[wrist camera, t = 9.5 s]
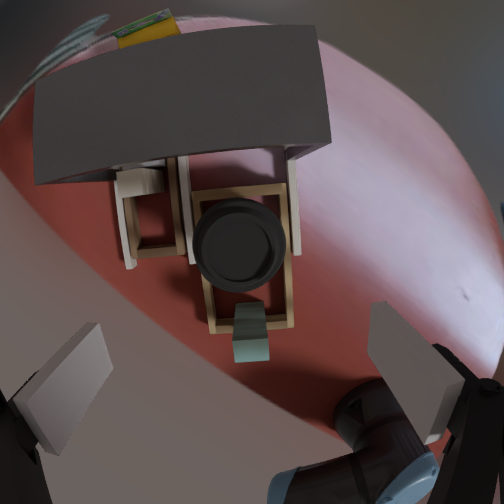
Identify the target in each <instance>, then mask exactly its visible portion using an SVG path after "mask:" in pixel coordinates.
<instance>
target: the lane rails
mask: <svg viewBox="0 0 504 504" xmlns="http://www.w3.org/2000/svg"><path fill="white" fill-rule="evenodd" d="M288 147H289V146H287V147H284V149H285V150H286V149H287V148H288ZM286 151H287V150H286ZM178 165H179V176H180V187H181V197H182V206H183V215H184V224H185V232H186V240H187V248H188V256H189V263H190V264H196V262H195V258H194V255H193V249H192V239H193V233H194V230H195V221H194V212H193V202H192V192H191V182H190V171H189V159H188V156H182V157H178ZM113 169H119V171H121V167H117V168H113ZM286 173H287V185H288V198H289V212H290V228H291V244H292V253H293V255H301V237H300V219H299V204H298V190H297V176H296V164H295V160H288V161H287V152H286ZM114 186H115V196H116V205H117V213H118V220H119V228H120V235H121V241H122V247H123V253H124V259H125V265H126V269H133V268H134V267H135V266H137V261H136V259H132V255H131V249H130V242H129V236H128V229H127V222H126V214H125V206H124V198H119V196H118V186H117V181H114Z"/></svg>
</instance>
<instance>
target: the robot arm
mask: <svg viewBox="0 0 504 504" xmlns="http://www.w3.org/2000/svg"><path fill="white" fill-rule="evenodd" d="M367 353H368V355H369V357H370V358H371V360H372V361H373V363H374V364H375V366H376V367H377V369H378V371H379V372H380V374H381V375H382V377H383V379H380V380H374V381H370V382H367V383H365V384H363V385H360V386H359V387H357V388H355V389H354V390H352V391H351V392H349V393H348V394H347V395H346V396H345V397H344V398H343V399H342V400H341V401H340V402H339V403H338V405H337V406H336V408H335V410H334V413H333V423H334V426H335V429H336V432H337V433H338V435H339V436H340V437H341V438H342V439H343V440H344V441H345V442H346V443H347V444H348V445H349V446H350V447H351V448H352V450H353V453H350V454H347V455H344V456H340V457H338V458H334V459H331V460H327V461H324V462H320V463H316V464H312V465H307V466H303V467H301V466H300V467H297V468H295V469H292V470H289V471H284V472H280V473H278V474H276V475H275V476H274V477H273V478H272V480H271V483H270V485H269V489H268V495H267V504H415V503H416V502H417V501H419V500H420V499H421V498H423V497H424V496H425V495H426V494H427V493H428V492H429V491H430V490H431V489H432V488H433V490H432V492H431V495H430V497H429V500H428V502H427V504H492V503H493V498H494V493H495V489H496V483H497V478H498V472H499V482H500V501H501V504H504V386H503V387H502V385H501V384H500V383H499V382H497V381H495V380H493V379H489V378H481V379H478V378H477V377H476V376H475V375H474V374H473V373H472V372H471V371H470V370H469V369H468V368H467V367H466V366H465V365H464V364H463V363H462V362H460V360H459V359H458V358H457V357H456V356H454V354H453V353H452V352H451V351H450V350H449V349H448V348H446V347H444V346H442V345H440V344H438V343H437V344H433V345H431V344H430V343H429V342H428V341H427V340H426V339H425V338H424V337H423V336H422V335H421V334H420V333H419V332H418V331H417V330H416V329H415V328H413V327H412V326H411V325H410V324H409V323H408V322H407V321H406V320H405V319H404V318H403V317H402V316H401V315H400V314H399V313H398V312H397V311H396V310H395V309H394V308H393V307H391V306H390V305H389V304H388V303H387V302H386V301H383V302H376V303H371V315H370V328H369V339H368V349H367ZM113 369H114V368H113V365H112V363H111V360H110V357H109V354H108V351H107V347H106V344H105V341H104V338H103V334H102V332H101V328H100V324H99V323H86V324H85V325H84V326H83V327H82V328H81V329H80V330H79V331H78V332H77V333H76V334H75V335H74V336H73V337H72V338H71V339H70V340H69V341H68V342H67V343H66V344H65V345H64V346H63V347H62V348H61V349H60V350H59V351H58V352H57V353H56V354H55V355H54V356H53V357H52V358H51V359H50V360H49V361H48V362H47V363H46V364H45V365H44V366H43V367H42V368H41V369H40V370H38V371H37V372H35V373H34V374H33V375H32V376H31V377H30V378H29V379H28V381H26V382H25V383H24V385H23V386H22V387H21V388H20V389H19V390H18V391H17V392H16V393H15V394H14V395H13V396H12V397H11V399H10V400H9V401H8V402H7V401H6V399H5V397H4V395H3V393H2V391H1V389H0V504H52V500H51V498H50V494H49V491H48V487H47V484H46V480H45V476H44V473H43V469H42V465H41V460H40V456H39V452H38V450H37V449H36V447H35V446H36V444H37V443H38V442H39V443H40V445H41V446H42V448H43V449H44V450H45V452H48V453H51V454H54V455H57V456H60V454H61V452H62V451H63V449H64V447H65V446H66V444H67V442H68V441H69V439H70V437H71V436H72V434H73V432H74V431H75V429H76V427H77V425H78V424H79V422H80V421H81V419H82V417H83V416H84V414H85V413H86V411H87V409H88V408H89V406H90V405H91V403H92V401H93V400H94V398H95V397H96V395H97V394H98V392H99V390H100V389H101V387H102V386H103V384H104V383H105V381H106V380H107V378H108V377H109V375H110V373H111V372H112V370H113ZM446 428H448V429H449V431H450V432H451V436H450V438H449V440H448V442H447V444H446V446H445V448H444V450H443V452H442V453H445V454H444V458H443V461H442V464H441V467H440V469H439V467H438V464H437V462H436V460H435V458H434V453H433V452H431V450H430V449H429V447H428V445H427V444H429V443H431V442H434V441H437V440H439V439H442V437H443V435H444V432H445V430H446Z"/></svg>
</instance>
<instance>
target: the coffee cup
mask: <svg viewBox="0 0 504 504" xmlns="http://www.w3.org/2000/svg"><path fill="white" fill-rule="evenodd" d="M192 249H193V255H194V258H195V262H196V265H197V267H198V269H199V271H200V272H201V274H202V275H203V276H204V278H205V279H206V280H207V281H208V282H210V283H211V284H212V285H214V286H215V287H217V288H219V289H222V290H225V291H228V292H247V291H251V290H254V289H256V288H258V287H260V286H262V285H264V284H265V283H266V282H268V281H269V280H270V279H271V278H272V277H273V276H274V275H275V274H276V273H277V271H278V270H279V268H280V267H281V265H282V262H283V260H284V257H285V253H286V236H285V232H284V229H283V226H282V224H281V222H280V221H279V219H278V218H277V216H276V215H275V214H274V213H273V212H272V211H271V210H270V209H269V208H268V207H266V206H265V205H263V204H261V203H259V202H257V201H254V200H251V199H245V198H232V199H227V200H224V201H221V202H219V203H217V204H215V205H213V206H212V207H211V208H209V209H208V210H207V211H206V212H205V213H204V214H203V215H202V216H201V218H200V219H199V221H198V223H197V225H196V227H195V230H194V233H193V239H192Z"/></svg>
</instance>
